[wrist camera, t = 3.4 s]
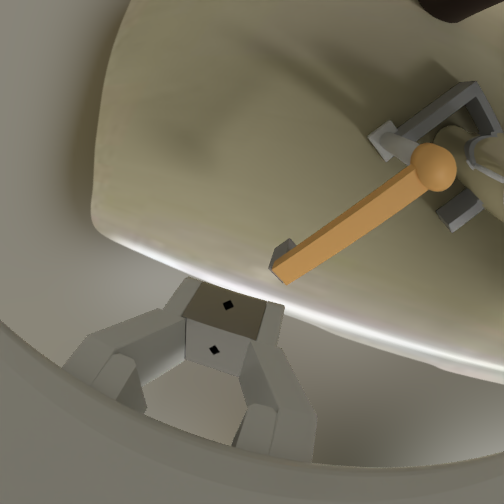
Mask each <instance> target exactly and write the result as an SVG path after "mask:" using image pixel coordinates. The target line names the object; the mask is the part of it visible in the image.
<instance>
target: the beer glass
mask: <svg viewBox="0 0 504 504" xmlns="http://www.w3.org/2000/svg"><path fill="white" fill-rule="evenodd" d="M433 144H435V145H438V146H440V147H443V148H445V149H447V150H448V151H449V152H450V153H451V154H452V155H453V157H454V159H455V162H456V167H457V172H456V177H455V178H457V179H459V180H460V181H461V182H462V184H463V185H464V186H465V187H466V189H467V190H468V191H469V192H470V194H471V195H472V196H473V197H474V198H475V200H476V201H477V202H478V203H479V204H480V205H481V206H482V207H484V208H485V209H486V210H487V211H488V212H489V213H491V214H492V215H493V216H494V217H496V218H497V219H499V220H500V221H501V222H503V223H504V133H500V132H476V133H469V132H467V131H466V130H465V129H463V128H461V127H459V126H455V125H449V126H446V127H443V128H442V129H441V130H439V131H438V133H437V134H436V136H435V138H434V141H433Z"/></svg>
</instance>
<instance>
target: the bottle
mask: <svg viewBox="0 0 504 504" xmlns="http://www.w3.org/2000/svg"><path fill="white" fill-rule="evenodd" d="M418 1H419V2H420V4H421V5H422V6H423V7H424V8H425V9H426V10H427V11H428V12H429V13H430V14H432V15H433V16H434V17H436V18H438V19H440V20H442V21H445V22H449V23H457V22H459V21H461V20H463V19H465V18H467V17H469V16H471V15H474V14H476V13H478V12H480V11H482V10H484V9H486V8H489V7H491V6H493V5H496V4H498V3H500V2H503V1H504V0H418Z"/></svg>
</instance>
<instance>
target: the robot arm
mask: <svg viewBox="0 0 504 504" xmlns="http://www.w3.org/2000/svg"><path fill="white" fill-rule="evenodd" d="M284 309H285V307H284V305H281V304H277V303H273V302H270V301H268V302H267V301H265V300H261V299H258V298H254V297H251V296H247V295H244V294H240V293H237V292H234V291H231V290H228V289H225V288H222V287H219V286H216V285H213V284H210V283H207V282H203V281H200V280H197V279H194V278H191V277H187V278H185V279H184V280H183V282H182V283H181V284H180V286H179V287H178V289H177V290H176V291H175V293H174V294H173V296H172V297H171V298H170V300H169V301H168V303H167V304H166V305H165V307H164V308H163V310H161V309H158V308H157V309H155V310H152V311H150V312H147V313H144V314H142V315H139V316H137V317H134V318H131V319H129V320H126V321H124V322H121V323H119V324H116V325H113V326H111V327H108V328H106V329H102V330H100V331H97V332H95V333H92V334H89V335H88V336H87V337H86V338H85V339H84V340H83V342H82V343H81V344H80V345H79V347H78V348H77V349H76V350H75V352H74V353H73V354H72V355H71V357H70V358H69V359H68V360H67V362H66V363H65V364H64V365H63V367H62V368H61V367H59V366H58V365H56V364H55V363H53V362H52V361H51V360H49V359H48V358H47V357H45V356H44V355H42V354H41V353H40V352H38V351H37V350H36V349H34V348H33V347H32V346H31V345H29V344H28V343H27V342H26V341H24V340H23V339H22V338H21V337H19V336H18V335H17V334H16V333H15V332H14V331H12V330H11V329H10V328H9V327H8V326H7V325H6V324H4V323H3V322H2V321H1V320H0V504H504V451H503V452H499V453H495V454H492V455H487V456H483V457H479V458H474V459H469V460H463V461H457V462H451V463H444V464H436V465H426V466H413V467H380V468H378V467H350V466H336V465H325V464H317V463H311V462H312V455H313V448H314V441H315V433H316V424H317V414H316V412H315V411H314V409H313V407H312V405H311V403H310V401H309V399H308V398H307V396H306V394H305V392H304V390H303V388H302V386H301V384H300V382H299V380H298V379H297V377H296V375H295V373H294V371H293V369H292V367H291V365H290V363H289V361H288V360H287V357H286V356H285V353H284V352H283V350H282V348H279V347H277V343H278V338H279V333H280V329H281V324H282V319H283V314H284ZM184 359H186V360H189V361H192V362H195V363H198V364H201V365H204V366H207V367H210V368H213V369H216V370H219V371H222V372H225V373H228V374H230V375H233V376H237V377H239V382H240V385H241V388H242V392H243V394H244V398H245V402H246V405H247V411H246V413H245V415H244V417H243V420H242V422H241V424H240V426H239V428H238V430H237V432H236V434H235V437H234V439H233V442H232V445H231V446H229V445H225V444H222V443H218V442H215V441H212V440H209V439H206V438H203V437H200V436H197V435H194V434H191V433H188V432H186V431H183V430H181V429H178V428H175V427H173V426H170V425H168V424H165V423H163V422H161V421H158V420H156V419H153V418H151V417H149V416H147V415H145V414H144V413H145V411H146V409H147V405H146V402H145V398H144V395H143V391H142V387H143V386H144V385H146V384H147V383H149V382H151V381H153V380H154V379H156V378H157V377H159V376H161V375H162V374H164V373H166V372H167V371H169V370H171V369H172V368H174V367H175V366H177V365H178V364H180V363H182V362H183V361H184Z"/></svg>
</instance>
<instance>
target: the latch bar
mask: <svg viewBox="0 0 504 504" xmlns="http://www.w3.org/2000/svg"><path fill="white" fill-rule="evenodd" d="M456 172H457V167H456V162H455V159H454V157H453V155H452V154H451V153H450V152H449V151H448V150H447V149H445V148H443V147H440V146H438V145H435V144H433V143H423V144H420V145H419V146H417V147H416V148H415V149H414V151H413V153H412V155H411V158H410V165H409V166H407V167H406V168H405V169H403V170H402V171H401V172H399V173H398V174H396V175H395V176H394V177H392V178H391V179H390V180H388V181H387V182H386V183H384V184H383V185H381V186H380V187H379V188H377V189H376V190H375V191H373V192H372V193H370V194H369V195H368V196H366V197H365V198H363V199H362V200H361V201H359V202H358V203H356V204H355V205H354V206H352V207H351V208H350V209H348V210H347V211H345V212H344V213H343V214H341V215H340V216H338V217H337V218H335V219H334V220H333V221H331V222H330V223H328V224H327V225H326V226H324V227H323V228H321V229H320V230H318V231H317V232H316V233H314V234H313V235H311V236H310V237H309V238H307V239H306V240H304V241H303V242H301V243H300V244H298V245H297V246H296V244H295V243H294V242H293V241H292V240H291V239H290V238H289V239H287V240H286V241H285V242H283V243H282V244H280V245H279V246H278V247H276V248H275V249H274V252H273V255H272V258H271V261H270V264H269V267H268V268H269V270H270V271H271V272H272V273H273V274H274V275H275V276H276V277H277V278H278V279H279V280H280V281H281V282H282V283H283V282H284V283H285V284H286V285H288V284H289V283H291V282H293V281H294V280H296V279H297V278H299V277H301V276H302V275H304V274H305V273H307V272H309V271H310V270H312V269H313V268H315V267H316V266H318V265H319V264H321V263H323V262H324V261H326V260H327V259H329V258H330V257H332V256H333V255H335V254H336V253H338V252H340V251H341V250H343V249H344V248H346V247H347V246H349V245H350V244H352V243H353V242H355V241H356V240H358V239H359V238H361V237H362V236H364V235H365V234H367V233H368V232H369V231H371V230H372V229H374V228H375V227H377V226H378V225H380V224H381V223H383V222H384V221H385V220H387V219H388V218H390V217H391V216H393V215H394V214H396V213H397V212H398V211H400V210H401V209H403V208H404V207H405V206H407V205H408V204H410V203H411V202H412V201H414V200H415V199H417V198H418V197H419V196H421V195H422V194H423V193H425V192H426V191H427V190H432V191H436V192H439V191H443V190H446V189H447V188H449V187H450V186H451V185H452V183H453V182H454V180H455V177H456Z"/></svg>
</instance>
